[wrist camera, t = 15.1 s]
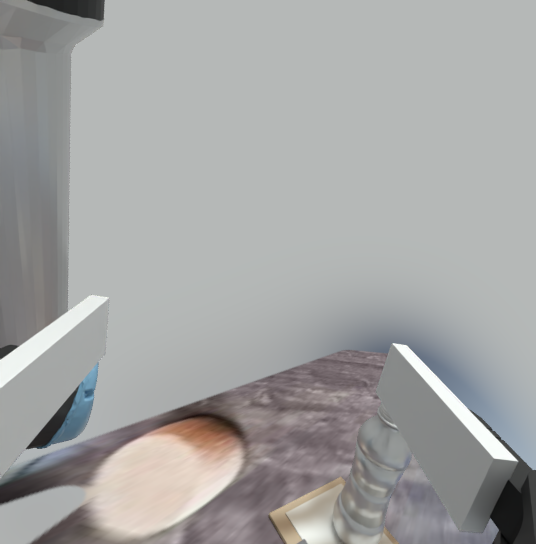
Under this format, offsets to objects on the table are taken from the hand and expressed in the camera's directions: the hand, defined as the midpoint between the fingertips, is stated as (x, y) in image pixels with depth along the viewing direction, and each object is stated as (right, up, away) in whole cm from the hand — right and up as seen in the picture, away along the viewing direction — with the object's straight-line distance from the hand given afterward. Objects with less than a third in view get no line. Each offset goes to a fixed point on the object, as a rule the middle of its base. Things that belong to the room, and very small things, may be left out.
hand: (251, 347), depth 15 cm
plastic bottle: (+12, -31, +28) cm, 44 cm away
